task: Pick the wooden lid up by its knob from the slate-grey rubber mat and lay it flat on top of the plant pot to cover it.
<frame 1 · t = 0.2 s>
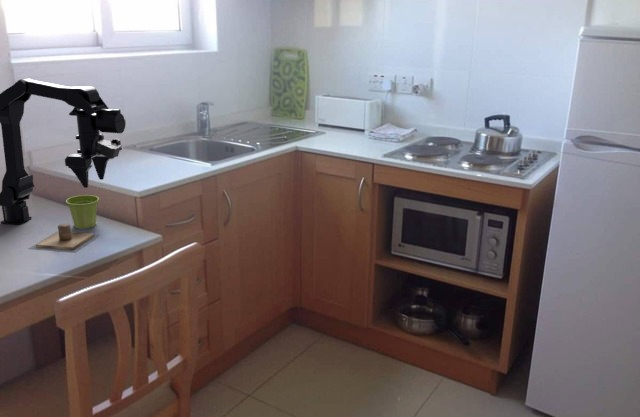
hand: (93, 183, 171), 14 cm above the table, fingers open, 9 cm apart
lid: (65, 241, 164), resting on mat
mat: (66, 242, 164), on the table
plant pot: (85, 226, 178), on the table
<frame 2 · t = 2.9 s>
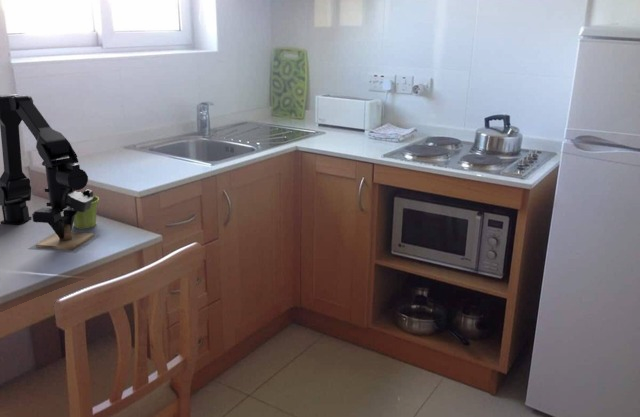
hand: (65, 236, 163), 2 cm above the table, fingers closed on lid, 3 cm apart
lid: (65, 241, 164), resting on mat, touching gripper
everything else where it was.
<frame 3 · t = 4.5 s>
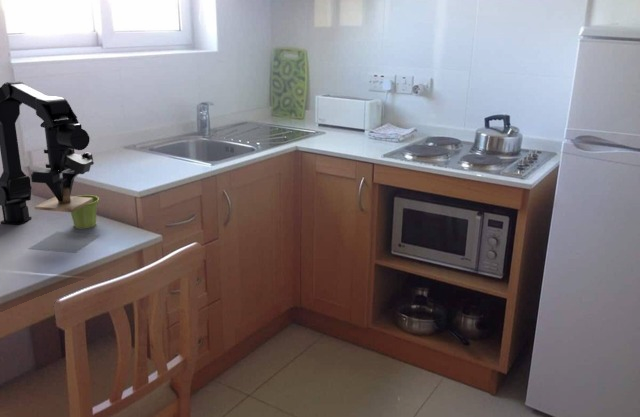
hand: (64, 199, 163), 12 cm above the table, fingers closed on lid, 3 cm apart
lid: (64, 204, 163), point 11 cm above the table, touching gripper
everything else where it was.
when the fingers open (12 cm above the table, at t = 6.1 s): lid drops 1 cm, resting on plant pot.
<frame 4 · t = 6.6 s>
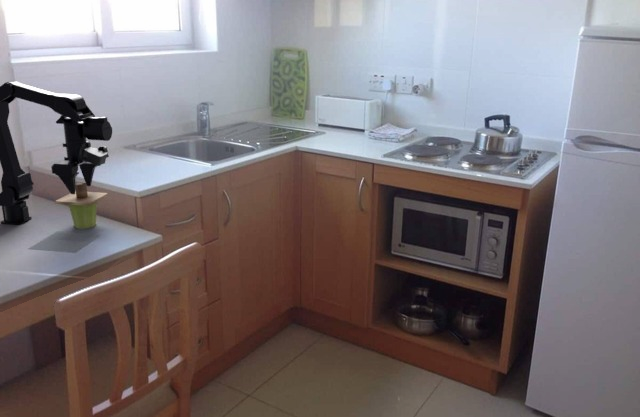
hand: (81, 190, 174), 12 cm above the table, fingers open, 9 cm apart
lid: (82, 199, 175), point 9 cm above the table, touching plant pot
plant pot: (85, 226, 178), on the table, touching lid
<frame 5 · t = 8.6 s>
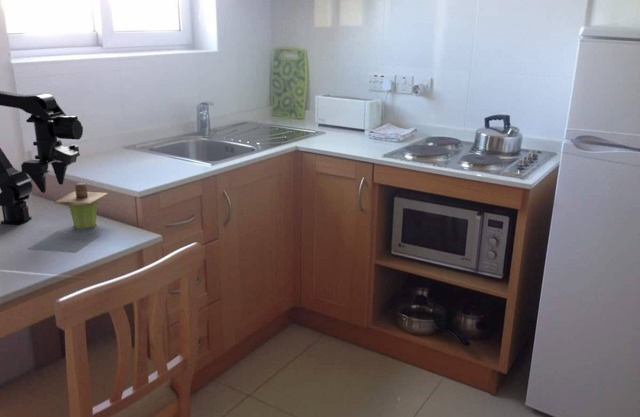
hand: (52, 188, 175), 12 cm above the table, fingers open, 9 cm apart
nothing on the table moved.
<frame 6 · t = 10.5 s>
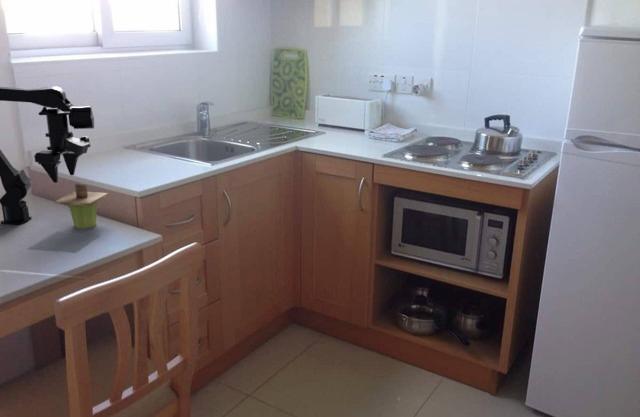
hand: (64, 178, 180), 13 cm above the table, fingers open, 9 cm apart
nothing on the table moved.
at the end: lid 0.1 cm off-centre on the plant pot, point 8.9 cm above the plant pot's base; lid tilted 0°; the gripper is holding nothing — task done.
